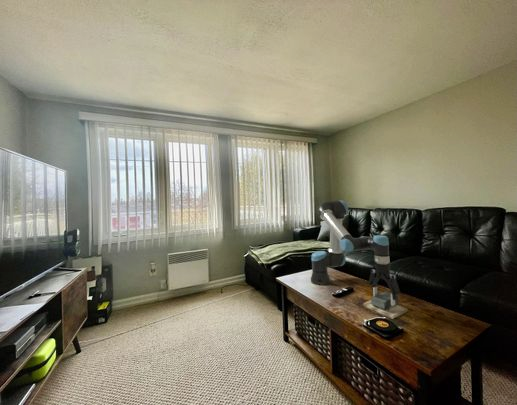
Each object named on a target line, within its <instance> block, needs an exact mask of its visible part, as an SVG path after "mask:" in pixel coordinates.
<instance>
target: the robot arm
mask: <svg viewBox="0 0 517 405" xmlns="http://www.w3.org/2000/svg"><path fill="white" fill-rule="evenodd" d="M348 213H349V206H348V204H347V202H345V201H344V200H340V199H339V200H325V201H323V202H321V203H320V204H319V205H318V207H317V214H318V217H319V219H321V220H322V221H324V222H325V224H326V225H327V226H328V227H329V229H330V230H329V247H328V248H327V251H325V250H319V251H318V250H317V251H315V252H313V253H312V254H311V258H310V259H311V268H312V270H311V271H312V272H311V276H310V283H312V282H313V283H315V284H314V285H317V284H320V285H319V286H326V284H327V285H329V283H330V284H331V277H330V275H329V272H328V269H329V268H336V267H337V268H339V267H342V266H344V265H345V264H346V262H347V261H346V260H347V259H346V254H345V253H346V252H350V253H351V252H357V251H363V250H370V251H373V254H374V257H373V258H374V268H371V269H370V270H369V272H370V275H369V280H368V285H369V286H371V292H372V294H373V295H372V297H374V296H376V295H378V294H379V293H378V286H377V284H378V283H379V280H380V279H381V280H384V282H386V284H387V286H388V288H389V290H390V293H391V306H394V305H395V300H396V299H397V297H396V294H397V295H400V294H401V290H400V287H399V284H398V281H397V275H396V274H392V273H391V264H390V263H391V261H390V242H389V237H388V236H386V235H378V234H377V235H373V237H372V236H371V237H370V236H367V235H365V236H364V235H362V236H360V237H353V236H352V235H351V234H350V233H349V232H348V230H347V229H346V227H344V225H343V220H344V219H345V218H346V217H345V216H346V215H348ZM313 283H312V284H313Z"/></svg>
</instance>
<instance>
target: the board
mask: <svg viewBox="0 0 517 405" xmlns="http://www.w3.org/2000/svg"><path fill="white" fill-rule="evenodd" d="M362 304H363V307H365V308H367V309H370V310H372V311H375V312H377V313H379V314H380V315H383V316H386V317H388V318H390V319H391V320H393V319H395V318H398V317H400V316H401V315H404V314H405V313H407V312H409V310H408V308H407V307H404V306H403V305H399V304H396V305H395V306H392V307H390V308H389V309H387V310H382V309H380V308H378V307H376V306H374V305H372V304H371V299H370V300H368V301H366V302H363V303H362Z"/></svg>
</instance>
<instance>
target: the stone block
mask: <svg viewBox="0 0 517 405" xmlns="http://www.w3.org/2000/svg"><path fill="white" fill-rule="evenodd" d="M391 293H392V292H391V291H390V292H389V291H385V290H384V291H382V292H380V293H377V294H378V295H376V296H372V297H371V298H370V300H371V304H372V305H374V306H376V307H378V308H380V309H382V310H387V309H389V308H390V307H392V306H391ZM396 297H397V299H396V300H395V305H396V304H397V305H399V294H396ZM395 305H394V306H395Z"/></svg>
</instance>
